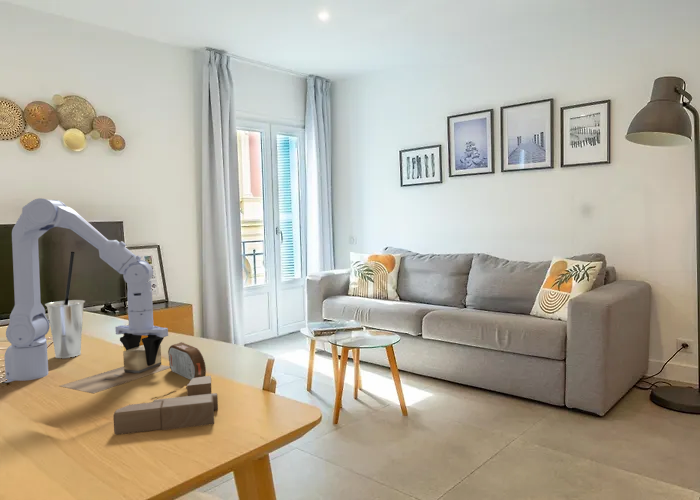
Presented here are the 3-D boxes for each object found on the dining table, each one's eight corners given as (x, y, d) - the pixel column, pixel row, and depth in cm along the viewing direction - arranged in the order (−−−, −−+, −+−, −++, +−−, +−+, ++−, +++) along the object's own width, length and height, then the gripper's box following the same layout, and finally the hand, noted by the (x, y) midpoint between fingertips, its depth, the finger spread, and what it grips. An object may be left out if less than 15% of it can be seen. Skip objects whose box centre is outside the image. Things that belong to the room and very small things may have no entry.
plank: (59, 391, 118) (58, 385, 118) (140, 366, 137) (139, 361, 137) (93, 398, 112) (93, 393, 112) (173, 371, 131) (172, 366, 131)
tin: (207, 386, 120) (206, 349, 119) (194, 389, 117) (193, 352, 117) (179, 372, 131) (177, 339, 130) (166, 375, 129) (165, 341, 128)
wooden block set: (217, 396, 97) (112, 407, 92) (219, 426, 97) (113, 439, 92) (215, 370, 113) (126, 379, 108) (216, 396, 113) (127, 406, 109)
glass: (79, 360, 144) (73, 251, 142) (38, 361, 144) (32, 252, 143) (98, 350, 155) (93, 249, 153) (60, 351, 155) (55, 250, 153)
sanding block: (124, 371, 128) (123, 351, 127) (147, 363, 135) (146, 343, 135) (139, 373, 126) (138, 352, 126) (161, 364, 134) (160, 344, 133)
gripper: (105, 311, 129) (107, 366, 129) (153, 313, 124) (155, 370, 124) (126, 306, 135) (128, 358, 136) (172, 308, 130) (175, 362, 131)
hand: (142, 363), depth 131 cm, fingers closed on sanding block, 4 cm apart
